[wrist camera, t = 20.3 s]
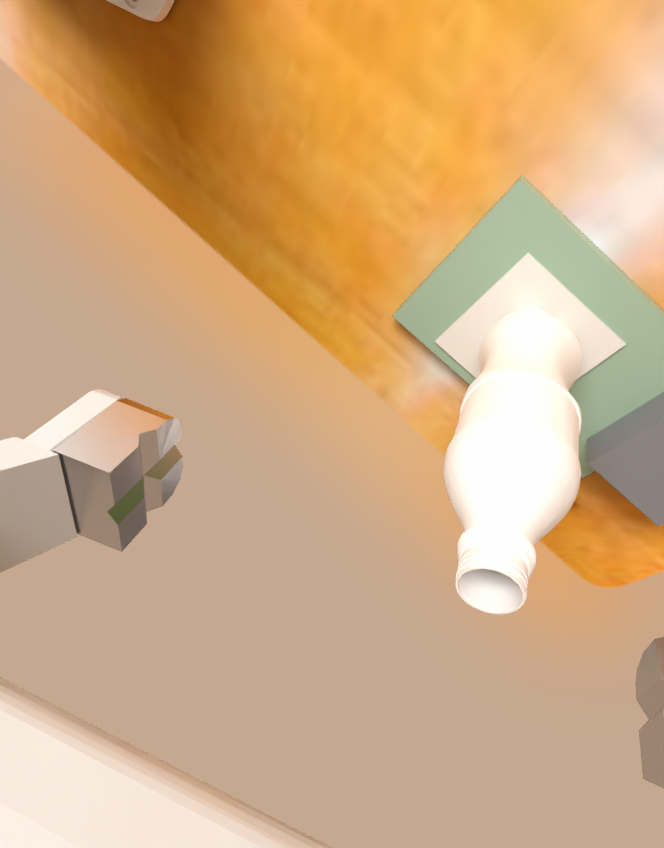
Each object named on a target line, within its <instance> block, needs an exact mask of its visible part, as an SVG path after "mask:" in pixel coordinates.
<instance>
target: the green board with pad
mask: <svg viewBox="0 0 664 848" xmlns="http://www.w3.org/2000/svg"><path fill="white" fill-rule="evenodd" d="M524 308H539V309H541V310H545V311H546V312H548V314H549V315H551V316H552V317H554V318H559V317H560V318H562V319H564V320H566V321H567V322H568V323H569V324H570V325H571V327H572V328H573V329H574V331H575V333H576V335H577V337H578V339H579V342H580V346H581V352H582V362H581V367H580V371H579V374H578V376H577V378H576V380H575V382H574V383H573V385H572V386H571V388H570V389H569V390H568V391H569V393H570V394H571V395H572V397H573V398H574V399H575V400H576V402H577V403H578V405H579V407H580V410H581V417H582V423H581V430H580V434H579V462H580V467H581V479H582V478H584V477H586V476H587V475H589V474H591V473H593V472H594V471H596V472H597V473H599V474H600V475H601V476H602V477H603V478H604V479H605V480H606V481H608V482H609V483H610V484H611V485H612V486H613V487H614V488H615V489H616V490H618V491H619V492H620V493H621V494H622V495H623V496H624V497H625V498H627V499H628V500H629V501H630V502H631V503H632V504H633V505H634V506H635V507H637V508H638V509H639V510H640V511H641V512H642V513H643V514H644V515H646V516H647V517H648V518H649V519H650V520H651V521H652V522H653V523H655V524H656V525H657V526H660V525H662V524H664V310H663V309H662V308H661V307H659V306H658V305H657V304H656V303H655V302H654V301H653V300H652V299H651V298H650V297H649V296H648V295H647V294H646V293H645V292H644V291H643V290H642V289H641V288H640V287H639V286H638V285H637V284H635V283H634V282H633V281H632V280H631V279H630V278H629V277H628V276H627V275H626V274H625V273H624V272H623V271H622V270H621V269H620V268H619V267H618V266H617V265H616V264H615V263H614V262H613V261H611V260H610V259H609V258H608V257H607V256H606V255H605V254H604V253H603V252H602V251H601V250H600V249H599V248H598V247H597V246H596V245H595V244H594V243H593V242H592V241H591V240H590V239H589V238H587V237H586V236H585V235H584V234H583V233H582V232H581V231H580V230H579V229H578V228H577V227H576V226H575V225H574V224H573V223H572V222H571V221H570V220H569V219H568V218H567V217H566V216H564V215H563V214H562V213H561V212H560V211H559V210H558V209H557V208H556V207H555V206H554V205H553V204H552V203H551V202H550V201H549V200H548V199H547V198H546V197H545V196H544V195H543V194H542V193H540V192H539V191H538V190H537V189H536V188H535V187H534V186H533V185H532V184H531V183H530V182H529V181H528V180H527V179H526V178H525V177H524V176H523V175H522V176H521V177H520V178H519V179H518V180H517V181H516V182H515V183H514V184H513V185H512V186H511V187H510V189H509V190H508V191H507V192H506V193H505V194H504V195H503V196H502V197H501V198H500V199H499V200H498V201H497V203H496V204H495V205H494V206H493V207H492V208H491V209H490V210H489V211H488V212H487V213H486V214H485V216H484V217H483V218H482V219H481V220H480V221H479V222H478V223H477V224H476V225H475V226H474V227H473V228H472V230H471V231H470V232H469V233H468V234H467V235H466V236H465V237H464V238H463V239H462V240H461V241H460V243H459V244H458V245H457V246H456V247H455V248H454V249H453V250H452V251H451V252H450V253H449V254H448V255H447V257H446V258H445V259H444V260H443V261H442V262H441V263H440V264H439V265H438V266H437V267H436V268H435V269H434V271H433V272H432V273H431V274H430V275H429V276H428V277H427V278H426V279H425V280H424V281H423V282H422V284H421V285H420V286H419V287H418V288H417V289H416V290H415V291H414V292H413V293H412V294H411V295H410V296H409V298H408V299H407V300H406V301H405V302H404V303H403V304H402V305H401V306H400V307H399V308H398V309H397V311H396V312H395V314H394V315H393V317H394V318H395V319H396V320H397V321H398V322H399V323H400V324H402V325H403V326H404V327H405V328H406V329H407V330H408V331H409V332H411V333H412V334H413V335H414V336H415V337H416V338H417V339H418V340H420V341H421V342H422V343H423V344H424V345H425V346H426V347H427V348H429V349H430V350H431V351H432V352H433V353H434V354H435V355H437V356H438V357H439V358H440V359H441V360H442V361H443V362H444V363H446V364H447V365H448V366H449V367H450V368H451V369H452V370H453V371H455V372H456V373H457V374H458V375H459V376H460V377H461V378H462V379H464V380H465V381H466V382H467V383H468V384H469V385H471V383H472V382H473V381H474V380H475V379H476V378H477V377H478V376H479V375H480V374H481V370H480V366H479V350H480V346H481V344H482V342H483V339H484V337H485V335H486V334H487V332H488V331H489V330H490V329H491V328H492V327H494V326H495V325H496V324H497V323H498V322H499V321H500V320H501V319H502V318H503V317H505V316H506V315H507V314H509V313H511V312H513V311H516V310H520V309H524Z"/></svg>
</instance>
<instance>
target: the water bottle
mask: <svg viewBox="0 0 664 848" xmlns="http://www.w3.org/2000/svg"><path fill="white" fill-rule="evenodd" d="M581 362H582V352H581V346H580V342H579V339H578V337H577V335H576V333H575V331H574V329H573V328H572V327H571V325H570V324H569V323H568V322H567V321H566V320H564V319H562V318H560V317H559V318H554V317H552V316H551V315H549V314H548V312H546V311H545V310H541V309H539V308H524V309H520V310H516V311H513V312H511V313H509V314H507V315H506V316H505V317H503V318H502V319H501V320H500V321H499V322H498V323H497V324H496V325H495V326H494V327H492V328H491V329H490V330H489V331H488V332H487V334H486V335H485V337H484V339H483V342H482V344H481V346H480V350H479V366H480V370H481V374H480V375H479V376H478V377H477V378H476V379H475V380H474V381H473V382H472V383H471V385H470V386H469V388H468V389H467V391H466V393H465V396H464V398H463V401H462V404H461V408H460V418H459V421H458V424H457V427H456V430H455V433H454V437H453V439H452V441H451V442H450V444H449V446H448V448H447V451H446V455H445V461H444V482H445V486H446V490H447V493H448V497H449V499H450V501H451V504H452V506H453V508H454V510H455V512H456V514H457V516H458V518H459V520H460V522H461V524H462V526H463V529H464V533H462V535H461V536H460V538H459V540H458V545H457V552H458V562H459V564H458V565H459V567H458V570H457V573H456V581H455V582H456V590H457V592H458V594H459V595H460V597H461V599H463V600H464V601H465V602H466V603H467V604H469V605H470V606H471V607H474V608H476V609H478V610H480V611H482V612H487V613H491V614H509V613H511V612H513V611H516V610H518V609H519V608H520V607H521V606H522V605H523V604H524V602H525V601H526V598H527V589H528V587H527V586H528V579H529V578H530V576H531V574H532V571H533V570H534V568H535V566H536V560H537V556H536V551H535V548H534V546H535V545H536V543H537V542H538V541H539V540H540V539H542V538H543V537H544V536H545V535H546V534H548V533H549V532H550V531H551V530H552V529H553V528H554V527H555V526H556V525H557V524H558V523H559V522H560V521H561V520H562V519H563V518H564V517H565V515H566V514H567V513H568V511H569V510H570V509H571V507H572V505H573V503H574V501H575V499H576V496H577V494H578V490H579V486H580V479H581V467H580V462H579V434H580V430H581V423H582V417H581V410H580V407H579V405H578V403H577V402H576V400H575V399H574V398H573V397H572V395H571V394H570V393H569V391H568V390H569V389H570V388H571V386H572V385H573V383H574V382H575V380H576V378H577V376H578V374H579V371H580V367H581Z"/></svg>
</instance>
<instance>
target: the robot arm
mask: <svg viewBox="0 0 664 848" xmlns="http://www.w3.org/2000/svg"><path fill="white" fill-rule="evenodd" d="M106 1H108V2H110V3H112V4H114V5H116V6H118V7H120V8H123V9H125V10H127V11H129V12H131V13H133V14H135V15H137V16H139V17H141V18H143V19H146V20H149V21H153V22H160V21H162V20H163V19H164V18H165V17H166V16H167V14H168V13H169V11H170V9H171V7H172V5H173V3H174V1H175V0H106ZM181 436H182V435H181V425H180V422H179V421H178V420H177V419H175V418H174V417H171V416H169V415H166V414H164V413H161V412H159V411H157V410H154V409H152V408H149V407H146V406H144V405H141V404H139V403H137V402H134V401H132V400H129V399H127V398H122V397H120V396H118V395H115V394H113V393H110V392H108V391H105V390H103V389H98V390H93V391H91V392H89V393H88V394H86V395H85V396H83V397H82V398H81V399H79V400H78V401H77V402H75V403H74V404H72V405H71V406H70V407H68V408H67V409H65V410H64V411H63V412H61V413H60V414H59V415H57V416H56V417H54V418H53V419H52V420H50V421H49V422H48V423H46V424H45V425H43V426H42V427H41V428H39V429H38V430H36V431H35V432H34V433H32V434H31V435H30V436H28V437H27V438H26V439H24V440H22V439H20V438H17V437H13V438H9V439H5V440H1V441H0V573H1V572H3V571H5V570H7V569H9V568H11V567H14V566H16V565H18V564H20V563H22V562H24V561H27V560H29V559H31V558H33V557H35V556H37V555H40V554H42V553H44V552H46V551H48V550H50V549H52V548H55V547H57V546H59V545H61V544H63V543H65V542H67V541H70V540H71V539H74V538H76V537H77V534H79V535H82V536H84V537H86V538H89V539H91V540H94V541H97V542H99V543H101V544H104V545H106V546H109V547H112V548H114V549H117V550H119V551H123V550H124V549H125V548H126V546H127V545H128V544H129V543H130V542H131V541H132V540H133V539H134V538H135V536H136V535H137V534H138V533H139V532H140V531H141V530H142V529H143V528H144V526H145V525H146V524H147V511H150V510H153V509H156V508H158V507H161V506H163V505H164V504H165V503H166V502H167V500H168V499H169V498H170V497H171V496H172V494H173V492H174V491H175V489H176V487H177V485H178V483H179V480H180V478H181V473H182V468H183V459H182V455H181V454H180V452H179V450H178V449H177V447H176V446H175V444H176V442H177V441H178V440H179V439H180V438H181ZM636 698H637V701H638V703H639V704H640V706H641V707H642V709H643V711H644V712H645V714H646V715H647V717H648V719H649V720H648V721H647V723H646V724H645V725H644V726H643V727H642V728H641V729H640V730H639V736H640V747H641V758H642V770H643V779H645V780H647V781H649V782H651V783H654V784H656V785H658V786H660V787H662V788H664V637H663V638H657V639H654V641H653V642H652V643H651V644H650V645H649V647H648V648H647V649H646V650H645V651H644V653H643V655H642V658H641V660H640V663H639V666H638V668H637V676H636ZM0 848H332V847H330V846H328V845H326V844H325V843H323V842H321V841H319V840H317V839H314V838H313V837H311V836H309V835H307V834H305V833H303V832H301V831H299V830H297V829H295V828H293V827H291V826H289V825H287V824H286V823H284V822H282V821H280V820H278V819H276V818H274V817H272V816H270V815H268V814H266V813H264V812H262V811H260V810H258V809H256V808H254V807H252V806H251V805H249V804H247V803H245V802H243V801H241V800H239V799H237V798H235V797H232V796H231V795H229V794H227V793H225V792H223V791H221V790H219V789H217V788H215V787H213V786H212V785H209V784H208V783H206V782H204V781H202V780H200V779H198V778H196V777H194V776H192V775H190V774H188V773H186V772H184V771H182V770H180V769H178V768H176V767H175V766H173V765H171V764H169V763H167V762H165V761H163V760H161V759H159V758H157V757H155V756H153V755H151V754H149V753H147V752H145V751H143V750H141V749H139V748H138V747H135V746H134V745H132V744H130V743H128V742H126V741H124V740H122V739H120V738H118V737H116V736H114V735H112V734H110V733H108V732H106V731H104V730H102V729H101V728H99V727H97V726H95V725H93V724H91V723H89V722H87V721H85V720H83V719H81V718H79V717H77V716H75V715H73V714H71V713H69V712H67V711H65V710H63V709H61V708H60V707H58V706H56V705H54V704H52V703H50V702H48V701H46V700H44V699H42V698H40V697H38V696H36V695H34V694H32V693H30V692H28V691H26V690H24V689H23V688H21V687H19V686H17V685H15V684H13V683H11V682H9V681H7V680H5V679H3V678H1V677H0Z"/></svg>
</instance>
